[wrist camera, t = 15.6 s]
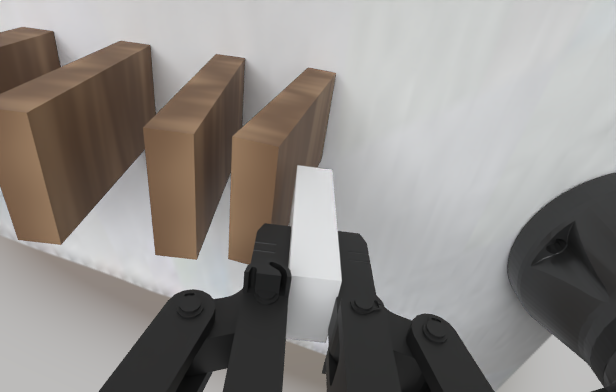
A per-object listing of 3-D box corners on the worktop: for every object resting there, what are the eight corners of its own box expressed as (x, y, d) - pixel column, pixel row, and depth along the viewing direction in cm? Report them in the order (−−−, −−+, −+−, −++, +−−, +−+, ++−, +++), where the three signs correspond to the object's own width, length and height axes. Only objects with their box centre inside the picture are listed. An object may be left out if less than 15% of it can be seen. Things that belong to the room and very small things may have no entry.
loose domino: (297, 153, 28) (228, 259, 17) (308, 67, 24) (232, 136, 14) (321, 158, 27) (266, 269, 17) (336, 73, 24) (278, 146, 14)
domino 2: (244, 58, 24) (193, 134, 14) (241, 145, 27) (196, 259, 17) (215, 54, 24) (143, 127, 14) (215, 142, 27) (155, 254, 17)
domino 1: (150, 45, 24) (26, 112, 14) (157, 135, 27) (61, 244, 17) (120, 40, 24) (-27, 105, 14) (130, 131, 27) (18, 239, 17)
